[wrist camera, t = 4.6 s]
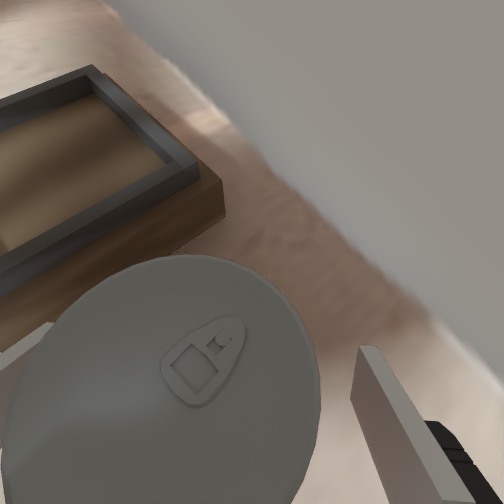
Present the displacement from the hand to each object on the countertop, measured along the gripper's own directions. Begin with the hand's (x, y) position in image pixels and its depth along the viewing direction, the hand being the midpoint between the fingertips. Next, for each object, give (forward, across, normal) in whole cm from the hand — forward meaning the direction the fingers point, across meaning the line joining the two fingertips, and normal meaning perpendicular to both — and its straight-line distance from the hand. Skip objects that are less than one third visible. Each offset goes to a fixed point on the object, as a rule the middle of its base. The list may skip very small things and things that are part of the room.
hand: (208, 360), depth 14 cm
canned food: (+2, 0, -5) cm, 5 cm away
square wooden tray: (+12, -12, +5) cm, 18 cm away
